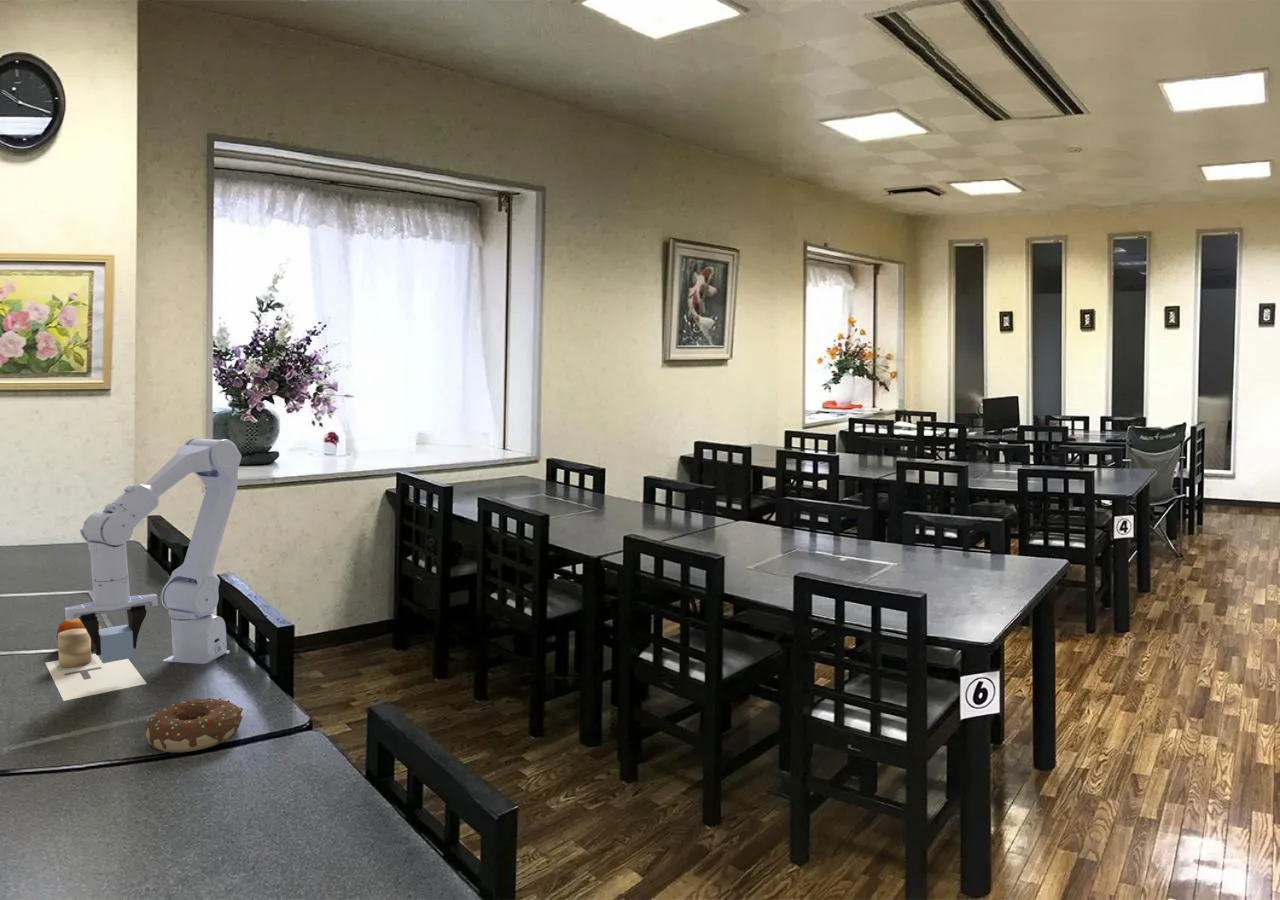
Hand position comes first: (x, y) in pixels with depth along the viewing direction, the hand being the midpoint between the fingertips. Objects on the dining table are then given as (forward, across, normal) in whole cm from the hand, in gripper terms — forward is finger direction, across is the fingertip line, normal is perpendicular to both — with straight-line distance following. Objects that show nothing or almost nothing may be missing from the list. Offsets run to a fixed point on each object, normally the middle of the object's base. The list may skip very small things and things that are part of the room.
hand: (115, 650), depth 168 cm
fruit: (+7, +2, -27) cm, 28 cm away
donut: (+7, -5, +34) cm, 35 cm away
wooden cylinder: (+6, +4, -16) cm, 18 cm away
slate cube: (+1, 0, 0) cm, 1 cm away
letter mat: (+7, +3, -8) cm, 11 cm away
